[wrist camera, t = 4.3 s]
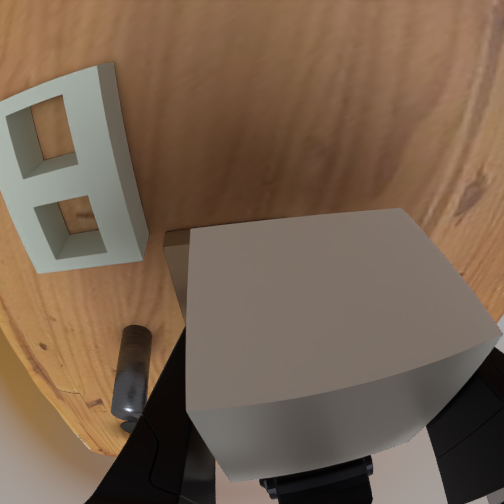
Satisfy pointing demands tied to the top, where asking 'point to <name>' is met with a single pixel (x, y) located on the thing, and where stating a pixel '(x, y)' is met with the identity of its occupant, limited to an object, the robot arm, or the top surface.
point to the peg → (132, 374)
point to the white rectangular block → (323, 338)
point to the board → (178, 263)
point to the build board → (73, 175)
